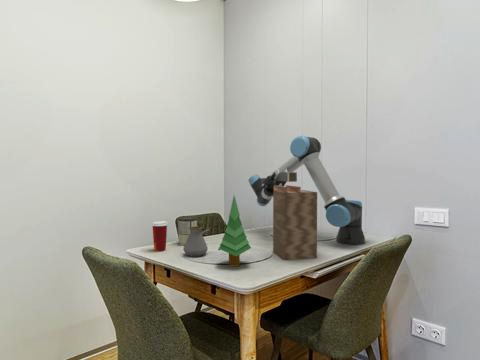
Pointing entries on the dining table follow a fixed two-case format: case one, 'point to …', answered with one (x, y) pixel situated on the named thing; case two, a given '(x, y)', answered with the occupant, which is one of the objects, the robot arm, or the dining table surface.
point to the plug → (287, 176)
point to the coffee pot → (197, 241)
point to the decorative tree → (234, 237)
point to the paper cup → (159, 235)
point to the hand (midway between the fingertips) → (282, 171)
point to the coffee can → (185, 228)
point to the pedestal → (294, 223)
